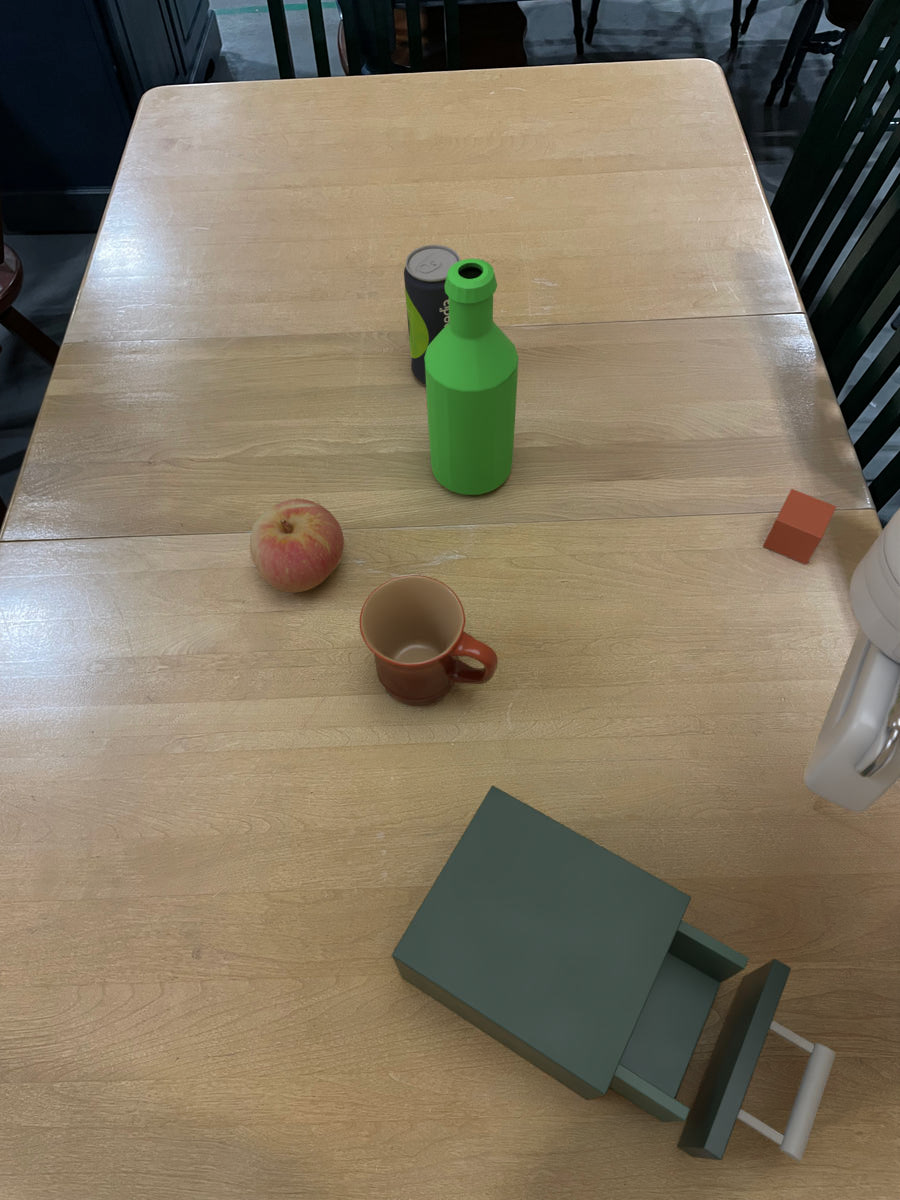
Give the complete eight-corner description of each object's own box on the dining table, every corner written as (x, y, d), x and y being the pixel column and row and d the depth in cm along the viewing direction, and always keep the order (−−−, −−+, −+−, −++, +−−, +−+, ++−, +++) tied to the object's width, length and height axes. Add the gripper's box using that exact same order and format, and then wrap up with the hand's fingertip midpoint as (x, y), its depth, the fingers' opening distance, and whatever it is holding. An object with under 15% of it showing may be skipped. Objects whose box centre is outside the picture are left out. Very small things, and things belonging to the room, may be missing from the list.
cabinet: (664, 926, 67) (692, 896, 58) (587, 1100, 61) (605, 1095, 52) (490, 825, 71) (492, 784, 63) (401, 977, 65) (390, 955, 57)
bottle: (476, 426, 95) (477, 225, 74) (528, 471, 92) (545, 273, 71) (415, 465, 93) (397, 268, 71) (466, 513, 89) (464, 320, 68)
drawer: (822, 1022, 62) (864, 1009, 55) (762, 1203, 56) (801, 1212, 50) (582, 883, 68) (594, 855, 61) (505, 1034, 62) (509, 1023, 55)
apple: (364, 559, 86) (354, 510, 79) (308, 622, 82) (294, 576, 76) (298, 521, 89) (283, 471, 82) (241, 580, 85) (221, 533, 78)
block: (820, 533, 87) (836, 506, 83) (806, 565, 85) (821, 538, 81) (777, 516, 88) (791, 488, 84) (762, 546, 86) (776, 519, 82)
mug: (355, 696, 78) (340, 641, 69) (397, 621, 82) (389, 561, 73) (474, 746, 75) (474, 696, 66) (512, 666, 79) (517, 609, 71)
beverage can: (432, 398, 98) (425, 289, 85) (401, 368, 101) (391, 258, 88) (474, 375, 100) (475, 264, 87) (443, 346, 103) (439, 235, 90)
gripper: (960, 784, 40) (846, 860, 52) (1044, 487, 49) (930, 610, 61) (828, 721, 41) (747, 809, 53) (932, 446, 51) (843, 573, 62)
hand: (845, 701), depth 57 cm, fingers closed
